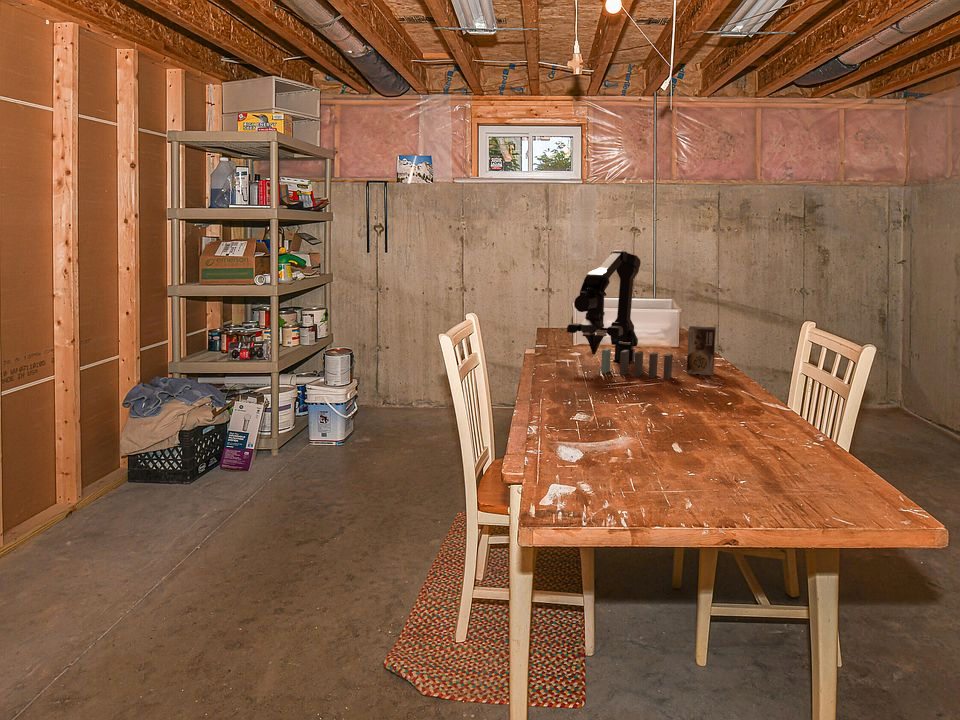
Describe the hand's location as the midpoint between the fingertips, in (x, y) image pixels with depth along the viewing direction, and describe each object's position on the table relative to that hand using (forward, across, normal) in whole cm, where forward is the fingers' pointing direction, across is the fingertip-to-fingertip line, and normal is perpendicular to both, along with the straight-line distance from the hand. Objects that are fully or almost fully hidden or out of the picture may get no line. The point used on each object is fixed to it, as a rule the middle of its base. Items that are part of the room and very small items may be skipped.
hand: (593, 354), depth 271 cm
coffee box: (+6, +34, +14) cm, 37 cm away
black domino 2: (+6, +11, 0) cm, 13 cm away
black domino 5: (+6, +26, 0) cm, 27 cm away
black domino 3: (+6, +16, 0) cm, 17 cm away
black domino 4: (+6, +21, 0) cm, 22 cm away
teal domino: (+6, +4, 0) cm, 7 cm away
